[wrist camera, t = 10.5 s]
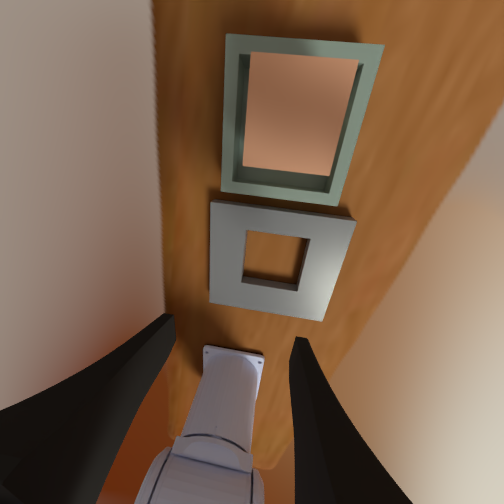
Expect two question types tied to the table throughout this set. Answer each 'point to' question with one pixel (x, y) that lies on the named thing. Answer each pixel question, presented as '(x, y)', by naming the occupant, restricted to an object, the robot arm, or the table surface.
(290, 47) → the tray
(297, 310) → the holder board
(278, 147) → the block
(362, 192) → the table surface
